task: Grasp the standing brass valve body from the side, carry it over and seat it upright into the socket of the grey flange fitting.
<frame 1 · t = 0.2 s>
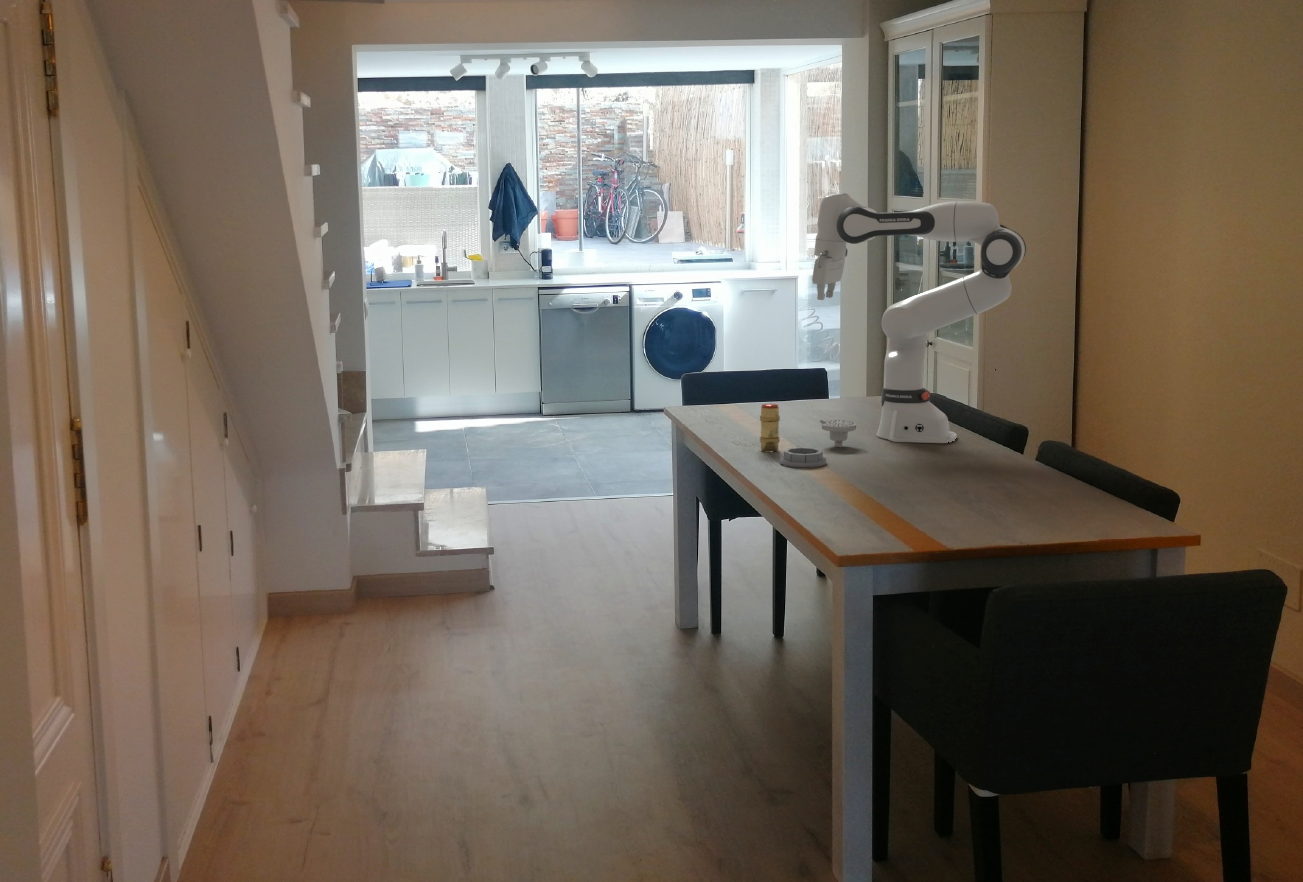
hand: (825, 298, 362), 39 cm above the table, tool pointing down, fingers open, 8 cm apart
valve body: (769, 450, 343), on the table
showerhead: (837, 446, 348), on the table
flange fitting: (803, 463, 327), on the table
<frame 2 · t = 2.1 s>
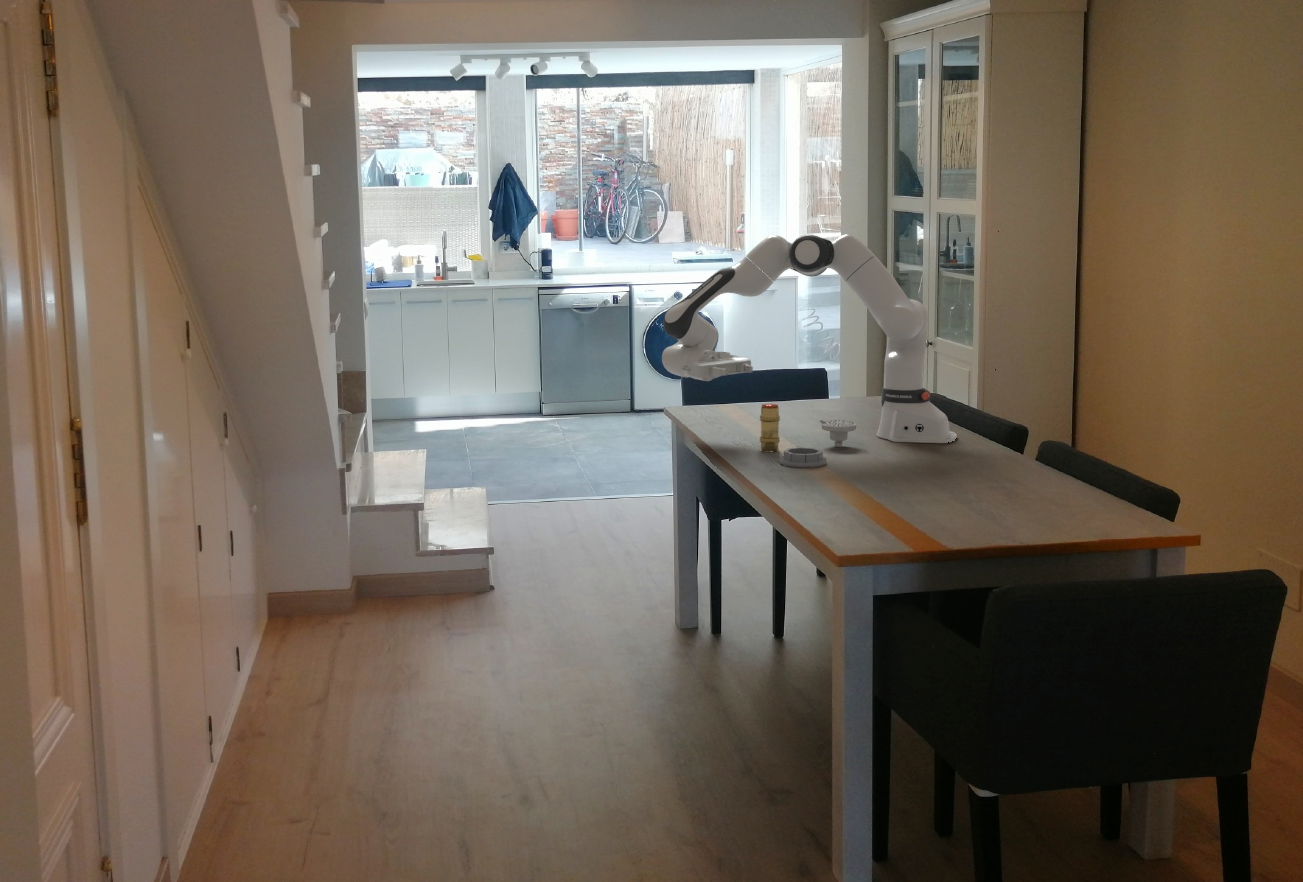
hand: (738, 370, 349), 21 cm above the table, tool horizontal, fingers open, 8 cm apart
nothing on the table moved.
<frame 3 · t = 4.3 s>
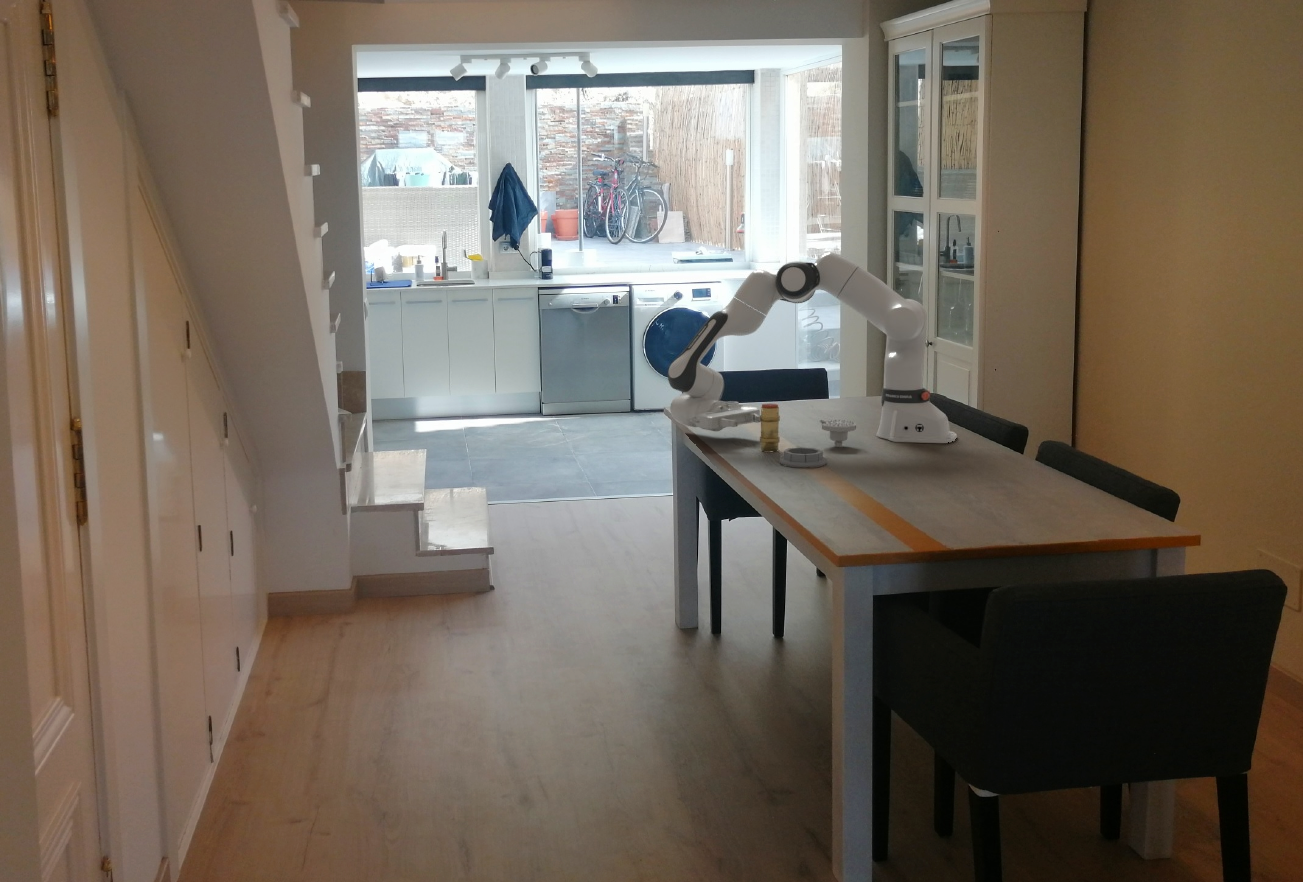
hand: (747, 421, 349), 7 cm above the table, tool horizontal, fingers open, 8 cm apart
nothing on the table moved.
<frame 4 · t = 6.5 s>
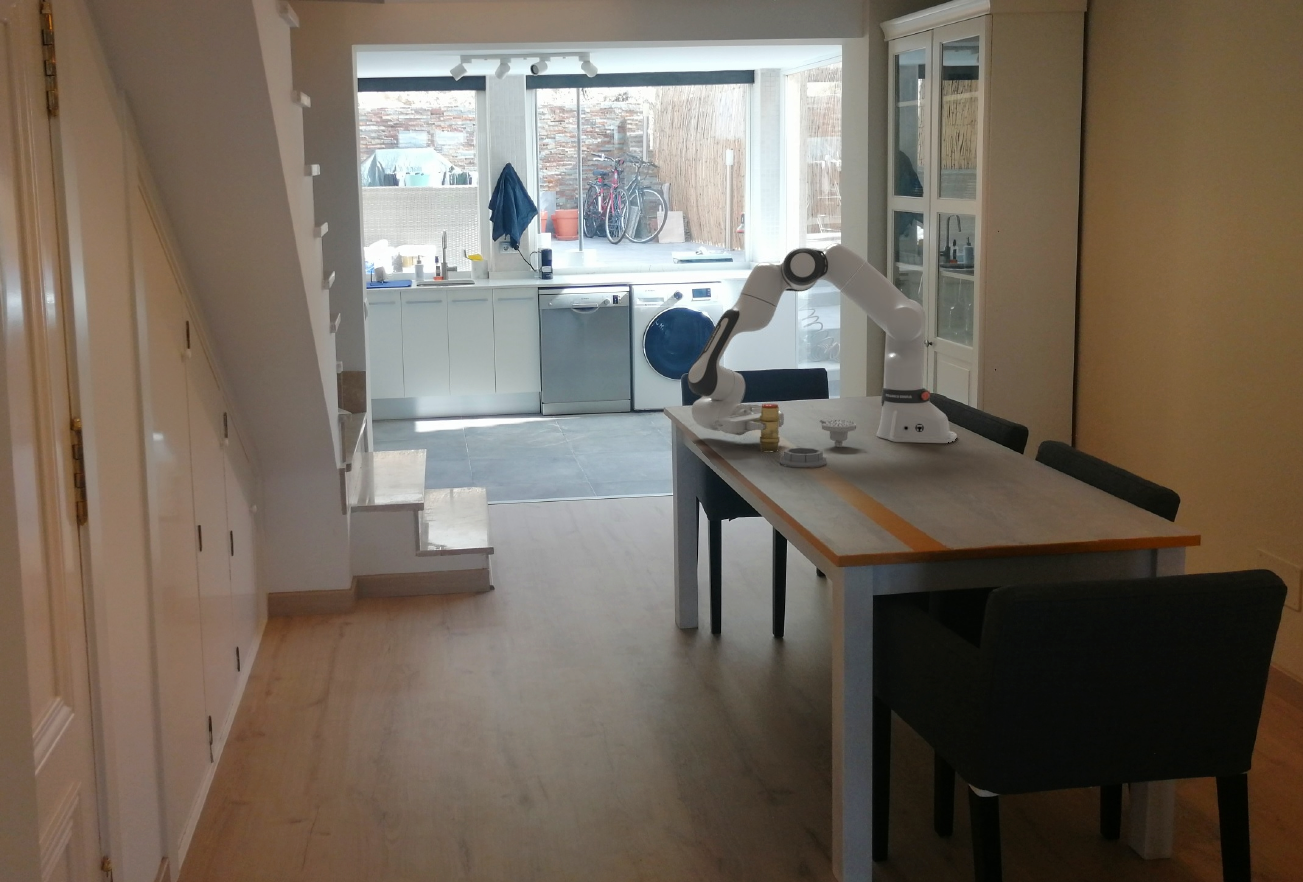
hand: (772, 425, 341), 7 cm above the table, tool horizontal, fingers closed on valve body, 5 cm apart
valve body: (769, 450, 343), on the table, touching gripper
everything else where it was.
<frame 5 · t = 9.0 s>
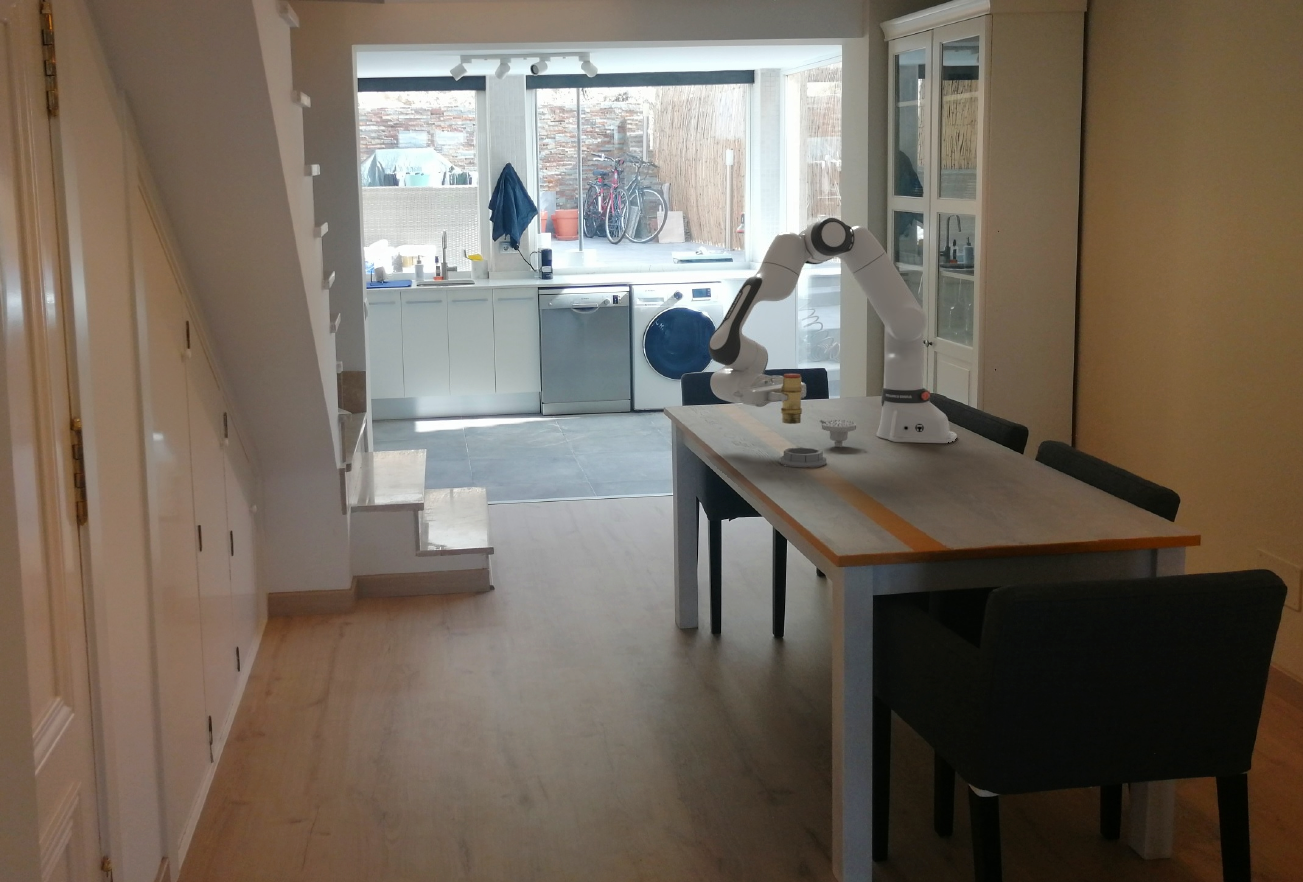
hand: (794, 396, 329), 17 cm above the table, tool horizontal, fingers closed on valve body, 5 cm apart
valve body: (791, 422, 331), point 10 cm above the table, touching gripper
everything else where it was.
when the fingers open (9 cm above the table, at t = 11.8 s): valve body drops 1 cm, resting on flange fitting.
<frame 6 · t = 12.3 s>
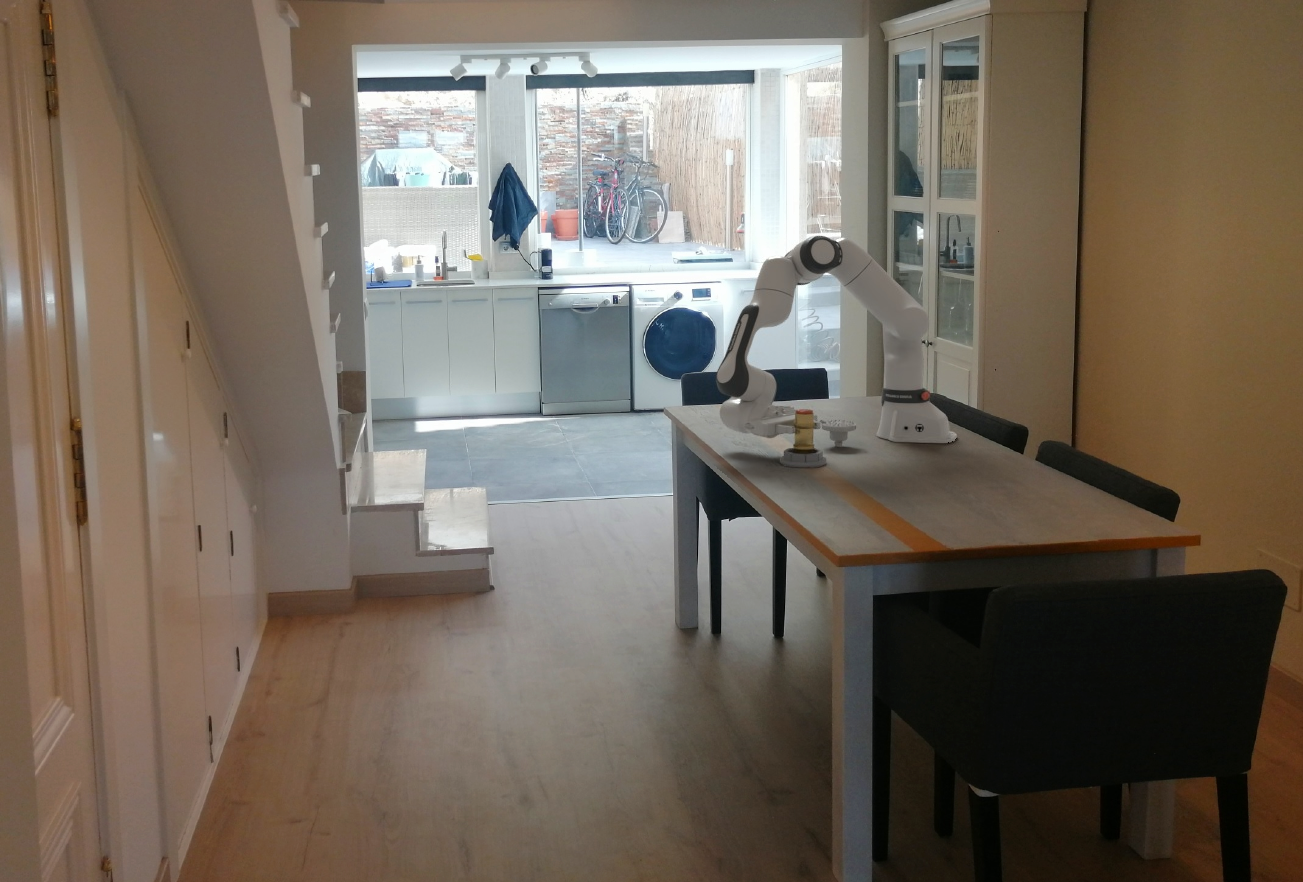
hand: (806, 428, 324), 9 cm above the table, tool horizontal, fingers open, 8 cm apart
valve body: (803, 458, 327), point 1 cm above the table, touching flange fitting
everything else where it was.
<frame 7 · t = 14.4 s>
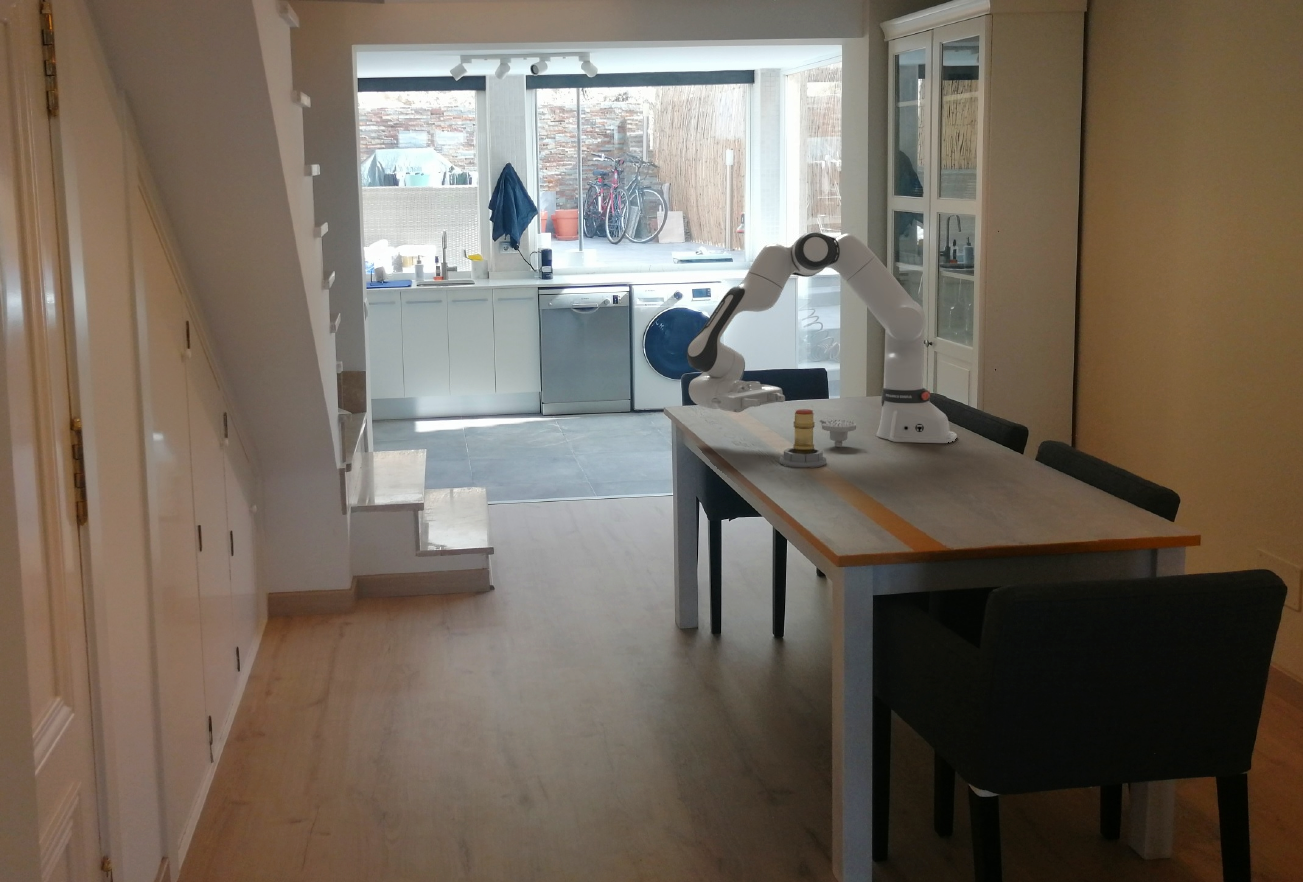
hand: (770, 401, 336), 14 cm above the table, tool horizontal, fingers open, 8 cm apart
nothing on the table moved.
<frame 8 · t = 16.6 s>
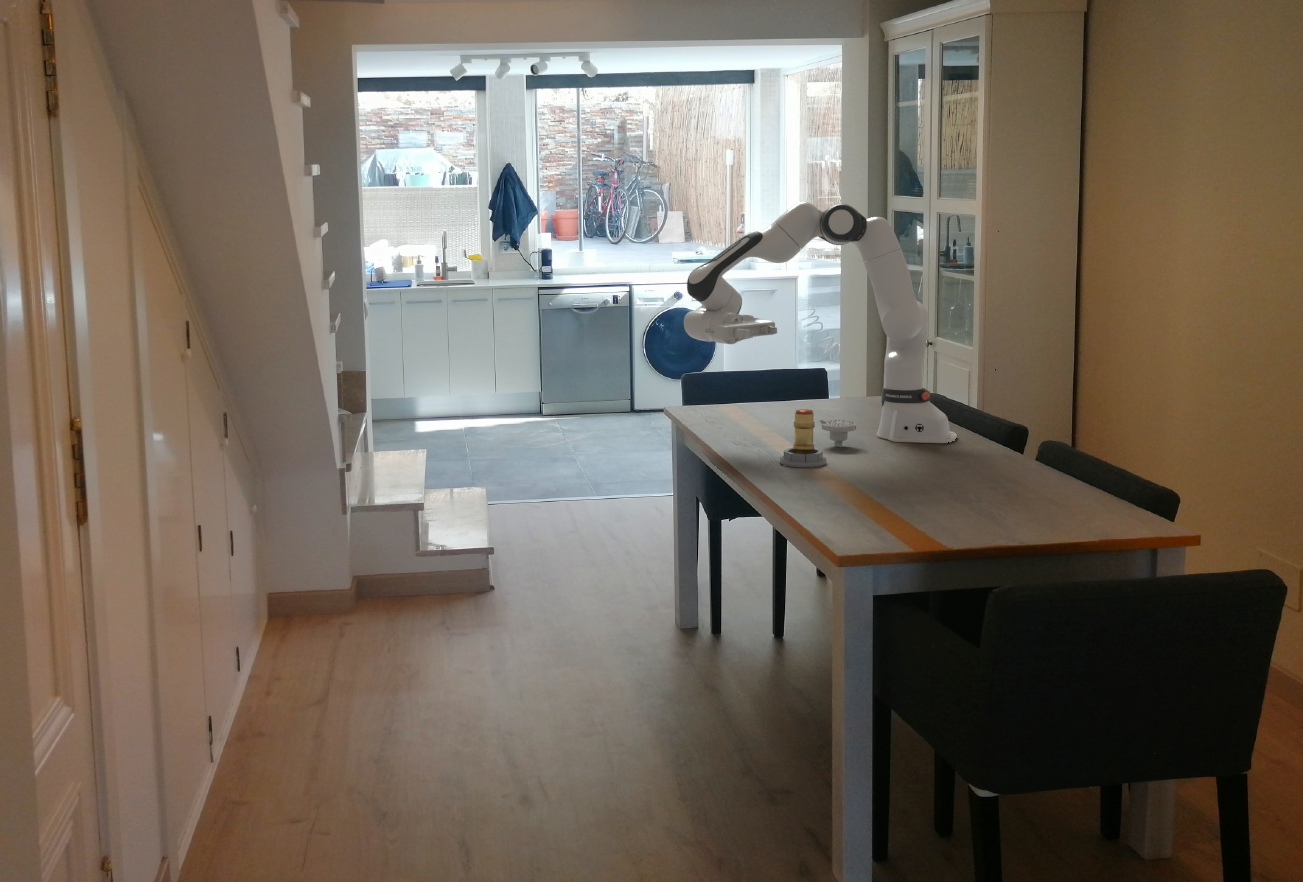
hand: (763, 332, 342), 32 cm above the table, tool horizontal, fingers open, 8 cm apart
nothing on the table moved.
at the end: valve body 0.2 cm off-centre on the flange fitting, point 1.2 cm above the flange fitting's base; valve body tilted 0°; the gripper is holding nothing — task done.
